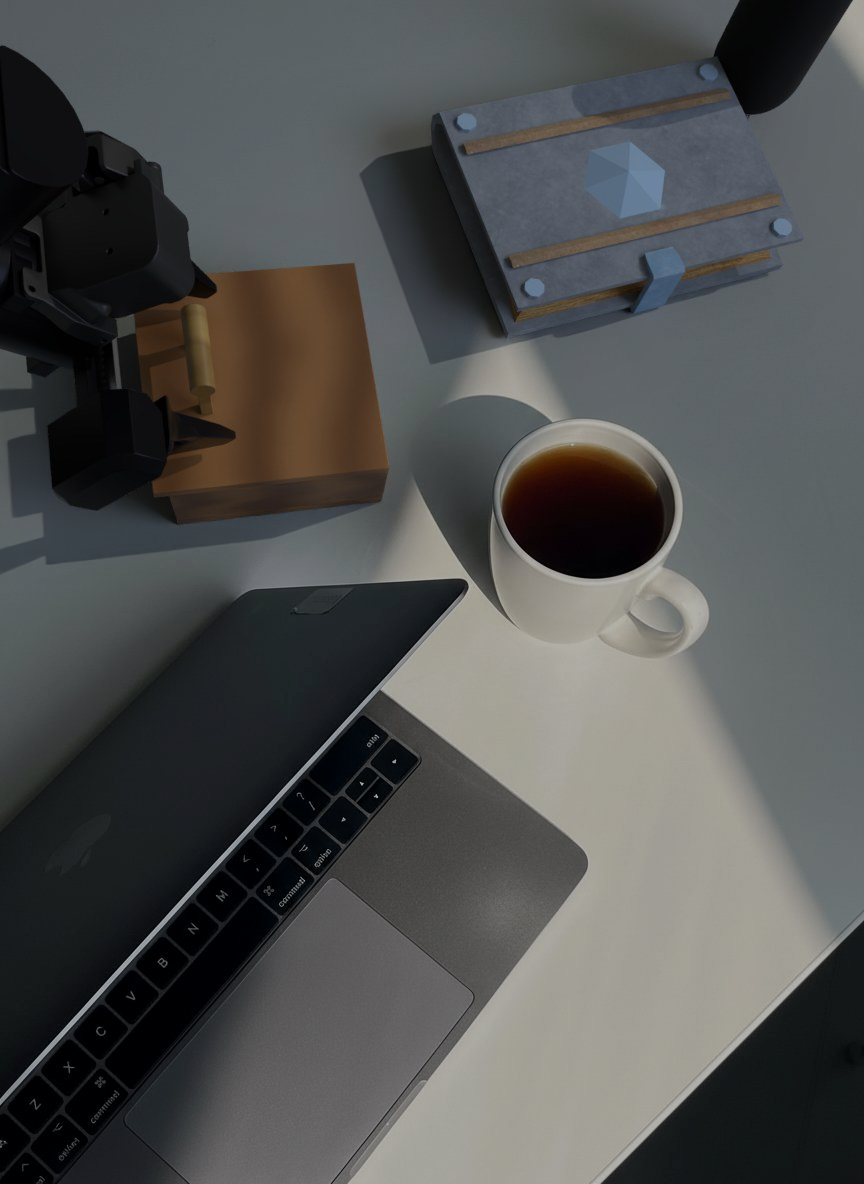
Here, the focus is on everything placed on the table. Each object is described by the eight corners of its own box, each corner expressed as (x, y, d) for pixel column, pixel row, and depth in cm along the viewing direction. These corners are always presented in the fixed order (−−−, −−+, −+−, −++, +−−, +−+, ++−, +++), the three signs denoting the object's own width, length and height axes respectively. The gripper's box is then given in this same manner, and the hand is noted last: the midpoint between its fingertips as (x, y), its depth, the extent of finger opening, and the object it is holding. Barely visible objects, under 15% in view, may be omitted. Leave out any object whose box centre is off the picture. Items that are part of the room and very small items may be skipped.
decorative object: (793, 91, 78) (905, -86, 64) (758, 151, 76) (865, -19, 62) (719, 48, 78) (813, -138, 64) (682, 106, 77) (771, -73, 62)
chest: (178, 525, 63) (169, 496, 58) (155, 326, 66) (145, 285, 62) (381, 501, 65) (388, 472, 60) (350, 310, 68) (354, 269, 64)
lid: (154, 497, 58) (143, 466, 54) (131, 285, 62) (119, 239, 57) (388, 472, 60) (396, 440, 56) (354, 269, 64) (358, 223, 59)
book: (690, 89, 77) (716, 36, 72) (779, 277, 73) (812, 235, 69) (427, 144, 73) (436, 91, 68) (507, 346, 69) (523, 307, 64)
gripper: (76, 385, 39) (349, 466, 52) (42, -10, 44) (299, 150, 56) (-71, 484, 46) (204, 535, 58) (-88, 129, 50) (170, 246, 63)
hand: (221, 364), depth 59 cm, fingers open, 9 cm apart
